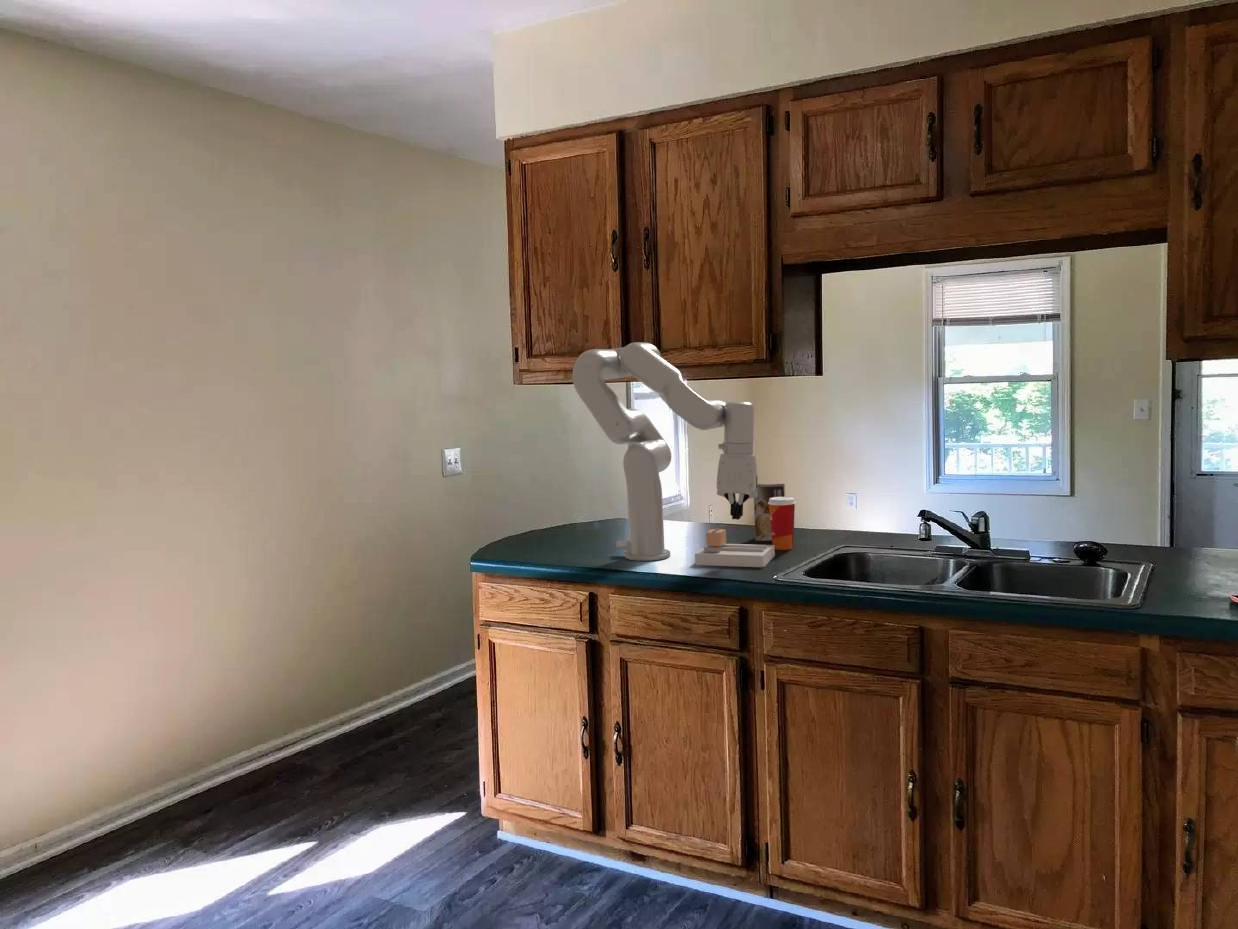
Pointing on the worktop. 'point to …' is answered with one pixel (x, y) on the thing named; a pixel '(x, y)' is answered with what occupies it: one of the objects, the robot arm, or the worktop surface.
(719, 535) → the fader knob
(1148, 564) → the worktop surface
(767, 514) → the coffee box
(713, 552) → the panel
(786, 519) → the paper cup
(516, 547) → the worktop surface
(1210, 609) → the worktop surface
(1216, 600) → the worktop surface
